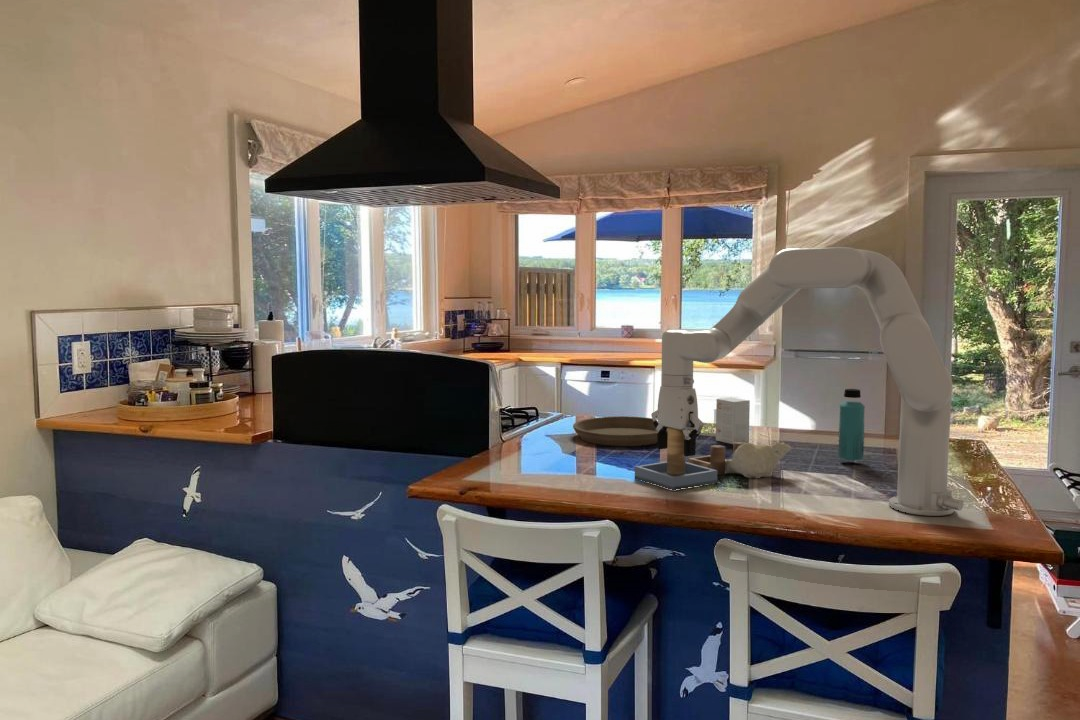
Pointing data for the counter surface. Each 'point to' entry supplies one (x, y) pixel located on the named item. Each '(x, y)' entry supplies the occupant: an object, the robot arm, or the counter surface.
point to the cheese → (756, 459)
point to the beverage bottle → (851, 427)
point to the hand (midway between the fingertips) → (675, 452)
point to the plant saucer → (617, 431)
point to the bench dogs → (720, 457)
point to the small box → (732, 420)
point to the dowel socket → (701, 461)
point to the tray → (692, 476)
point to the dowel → (675, 452)
